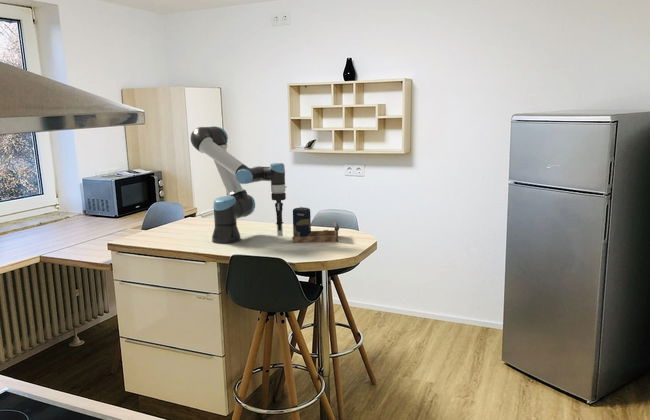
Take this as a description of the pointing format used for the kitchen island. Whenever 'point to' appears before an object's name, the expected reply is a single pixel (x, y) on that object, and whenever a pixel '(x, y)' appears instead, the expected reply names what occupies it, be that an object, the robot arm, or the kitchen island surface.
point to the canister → (301, 222)
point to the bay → (320, 236)
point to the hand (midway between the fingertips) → (280, 235)
